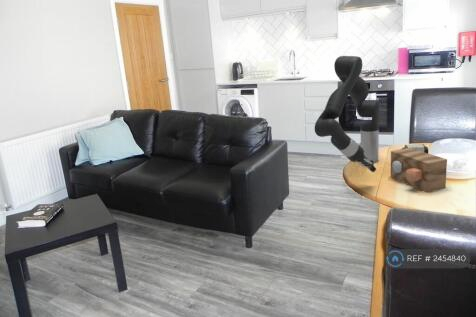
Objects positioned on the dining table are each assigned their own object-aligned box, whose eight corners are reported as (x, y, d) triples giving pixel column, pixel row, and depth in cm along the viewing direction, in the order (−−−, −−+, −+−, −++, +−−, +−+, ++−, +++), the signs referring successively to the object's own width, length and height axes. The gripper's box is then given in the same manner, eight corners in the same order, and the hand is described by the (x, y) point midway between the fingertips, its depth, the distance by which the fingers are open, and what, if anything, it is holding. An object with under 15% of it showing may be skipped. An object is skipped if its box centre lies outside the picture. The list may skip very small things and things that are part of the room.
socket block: (390, 177, 193) (391, 151, 190) (407, 173, 196) (408, 147, 193) (427, 192, 173) (428, 163, 169) (445, 187, 176) (447, 159, 172)
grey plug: (392, 171, 189) (392, 159, 188) (410, 166, 193) (411, 155, 191) (400, 174, 184) (400, 162, 183) (419, 169, 188) (420, 158, 186)
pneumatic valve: (427, 167, 202) (428, 144, 198) (403, 168, 204) (403, 145, 201) (425, 163, 207) (425, 141, 203) (400, 164, 209) (401, 142, 206)
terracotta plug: (405, 179, 178) (405, 167, 176) (424, 174, 181) (425, 163, 179) (414, 183, 172) (414, 171, 171) (434, 178, 176) (435, 166, 174)
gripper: (365, 145, 169) (388, 167, 177) (346, 139, 181) (369, 159, 189) (354, 160, 169) (378, 181, 177) (337, 152, 181) (360, 172, 189)
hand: (374, 170), depth 183 cm, fingers closed
